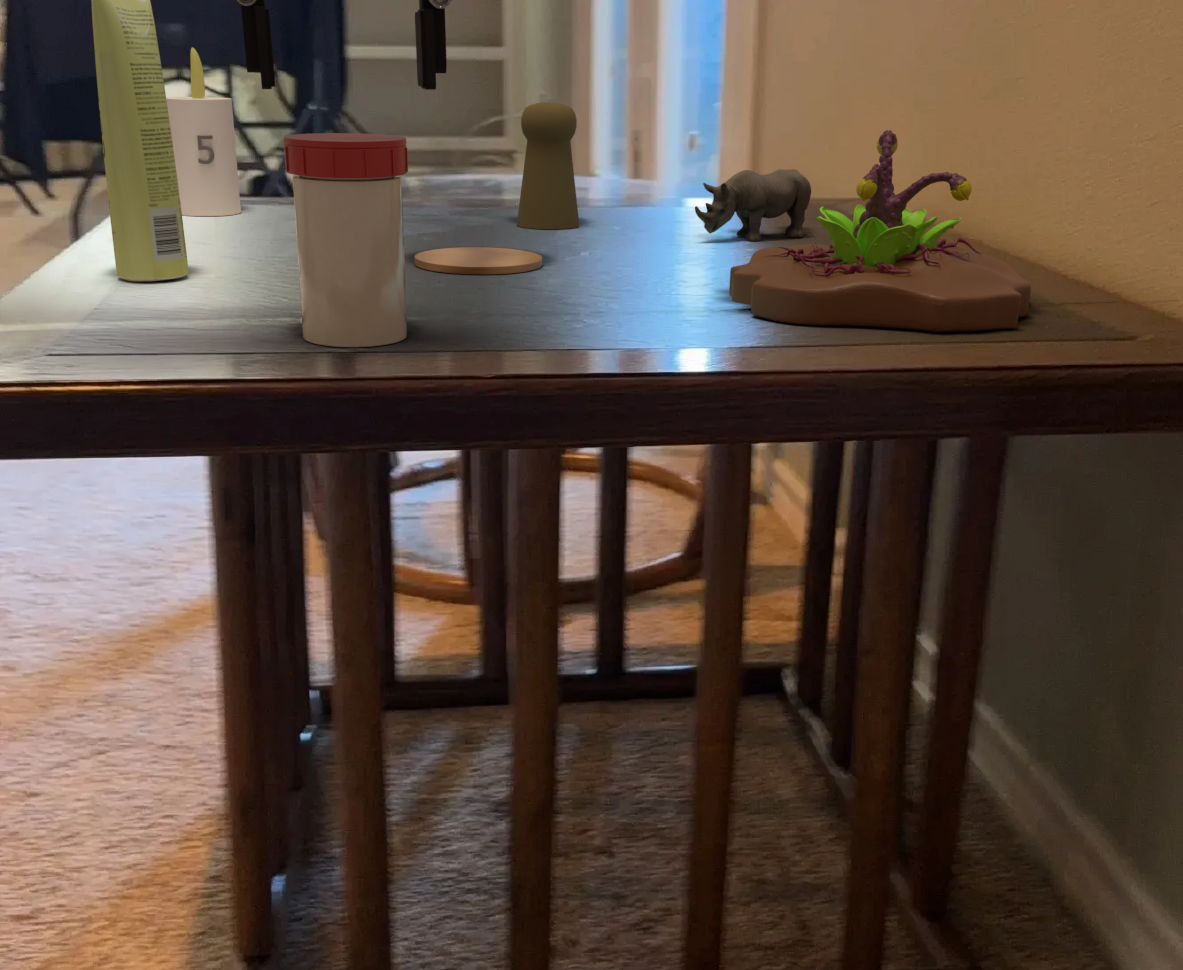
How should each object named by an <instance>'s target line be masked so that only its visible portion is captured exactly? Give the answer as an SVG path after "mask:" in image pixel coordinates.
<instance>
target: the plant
mask: <svg viewBox="0 0 1183 970" xmlns="http://www.w3.org/2000/svg"><path fill="white" fill-rule="evenodd" d="M898 143H899V141H898V137H897V134H895V133H894V132H893V130H891V129H889V130H888V129H887V130H884V131H883V132H882V134H880V135H879V137H878V140H877V142H876V150H877V153H878V154H879V155H880V156H879V158H878V163H879V164H878V163H874V165H872V167H871V169H870V170H869V172H867V173H866V175H864V176H863V177H862V178H861V179H860V180H859V181H858V183H857V185H856V195H857V196H858V197H859V198H860V199H861V200H862V201H863V202H865V201H866V200H867V201H866V203H865V206H864V205H863V204H857V205H856V206H855V208H853V209H854V210H853V219H852V220H851V219H850V218H849V217H847V216H846V215H845V214H843V213H841V212H839V211H837V210H834V209H830V208H827V207H825V206H823V205H822V206H821V207H819V212H820V213H821V214H822V215H823V216H821V215H818V216H817V217H816V220H817V221H818V222H819V223H820V224H821V225H822V226H821V227H822V228H824V230H826V231H827V233H828V234H829V239H830V240H831V242H832V243H830V244H829V246H827V245H823V244H816V242H814V244H808V243H807V244H797V245H789V246H768V247H764V248H760V249H757V250H756V251H755V252H753V253H752V256H751V257H750V260H749V262H747V263H744V264H740V265H735V266H732V267H730V269H729V270H730V273H729V287H728V289H729V291H728V293H729V294H728V295H729V296H730V297H731V302H734V303H738V304H743V305H748V306H750V307H747V308H746V307H745V308H743V309H744V310H750V313H751V314H752V315H753V316H755V317H757V318H761V319H765V320H770V321H775V322H778V323H779V322H780V323H786V324H793V325H803V326H804V325H805V326H835V327H837V326H853V327H870V328H884V329H885V328H887V329H899V330H901V329H902V330H913V331H924V332H930V333H951V332H956V333H957V332H958V333H959V332H961V333H962V332H967V333H968V332H983V331H994V330H1012V329H1016V328H1018V322H1019V318H1023V317H1026V316H1027V315H1028V312H1029V308H1030V300H1031V294H1032V286H1031V285H1032V284H1031V283H1030V282H1029V281H1028V280H1026V279H1024V278H1022V277H1021V276H1019V275H1018V274H1017V273H1016V272H1015V270H1014V269H1013V268H1011V266H1010V265H1009V264H1007V263H1006V262H1005V261H1002V260H1000V259H998V258H996V257H994V256H991V255H988V254H985V253H984V252H979V251H978V250H976V249H975V248H974V247H973V245H972V244H971V243H970V242H969V241H968V240H966V239H965V238H961V237H955V239H954V241H953V242H947V239H946V238H941V237H942V236H943V235H944V233H946V232H947V231H949V230H951V229H952V230H953V229H954V228H955V226H956V225H957V224H959V223H960V222H961V221H962V217H960V216H959V217H957V218H952V219H948V220H943V221H942V222H940V223H937V224H936V225H934V226H933V227H931V228H930V229H929V230H928V231H926V230H927V229H928V228H929V227H930V226H932V225H933V224H935V223H936V222H937V219H938V217H937V216H933V217H931V218H930V219H928V220H926V221H925V219H926V217H927V215H928V211H927V209H926V208H920V209H919V210H916V211H914V212H912V211H911V210H910V209H909V208H908V207H907V204H908V203H909V202H910V201H911V200H912V199H913V198H914V197H915V196H917V195H918V193H920V192H921V191H922V190H924V189H925V188H926V187H928V186H931V185H932V184H935V183H941V182H946V183H948V184H949V190H950V194H951V196H952V198H953V199H954V200H955V201H960V202H963V201H969V200H970V199H969V197H970V196H971V194H972V184H971V183H970V181H969V180H968V178H966V177H965V176H963V175H960V174H958V173H957V172H953V173H952V172H949V171H945V172H936V173H935V172H932V173H929V174H928V175H924V176H921V177H920V178H919V179H917V180H915V182H912V183H911V185H909V186H908V187H907V188H905V189H904V190H902V191H900V192H899V193H897V194H895V193H896V192H895V185H894V184H893V175H894V173H893V172H894V170H893V156H894V155H893V154H895V153H896V152H897V149H898V148H899V147H898V145H899V144H898ZM940 238H941V239H940ZM958 243H961V244H964V245H966V246H967V247H969V248H970V249H971V250H972V251H970V250H968V249H966V248H964V247H962V246H958Z"/></svg>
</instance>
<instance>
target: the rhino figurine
mask: <svg viewBox="0 0 1183 970" xmlns="http://www.w3.org/2000/svg"><path fill="white" fill-rule="evenodd" d="M702 185H703V187H704V189H705V190H706V191H707V192H709V193H710V194H711V195H713V199H712V203H709V202H706V203H705V208H706V212H705V211H701V209H700V208H699V207H698V206H697V205H696V206H694V212H695V214H696V216H697V217H698V218H699V219H700V221H702V222H703V227H704V229H705V230H706V232H707V233H708V234H712V233H715V232H717V231H718V230H719V229H721V228H722V227H723V226H725V225H726V224H727V223H728V222H730V221H731V220H732V219H733V217H734V216H735V213H736V216H737V218H739V220H740V221H741V224H742V227H741V228H740V229H739V230H737V232H736V234H735V235H736V236H737V237H741V238H745V240H748V241H749V242H758V241H761V240H762V235H761V232H760V231H761V230H760V229H761V226H762V220H763V218H764V219H775V218H779V217H780V216H782V215H784V214H785V213H786V214H787V215H788V217H789V219H790V224H789V225H787V227H786V228H785V229H784V232H785V234H787V236H788V237H790V238H802V237H803V236H804V231H803V226H804V223H805V218H806V217H805V213H806V210H807V209H808V207H809V204H810V201H811V198H812V197H811V196H812V186H811V183H810V181H809V180H808V179H807V177H806V176H804V174H802V173H801V172H800V171H799V170H798V169H796V168H795V169H794V168H793V169H783V168H781V169H779V168H778V169H777V170H774V171H772V172H770V173H767V174H766V173H765V174H760V173H758V172H756V171H754V170H752V169H744V170H741V171H739V172H737V173H735V174H734V175H732V176H731V177H729V178H728V179H727V180H726V181H725V182H723V183H721V184H720V185H719V186H714V185H710V184H707V183H706V182H703V184H702Z"/></svg>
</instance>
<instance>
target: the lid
mask: <svg viewBox="0 0 1183 970" xmlns="http://www.w3.org/2000/svg"><path fill="white" fill-rule="evenodd" d="M283 148H284V161H285V163H284V164H285V173H287V174H289V175H292V176H293V175H299V176H309V177H326V178H376V177H391V176H399V175H400V176H404V175H406V174H408V173H409V161H408V160H409V159H408V158H409V157H408V147H407V138H406V137H404V136H401V135H392V134H379V133H378V134H377V133H356V132H355V133H353V132H350V133H349V132H323V133H322V132H321V133H320V132H318V133H317V132H316V133H315V132H314V133H297V134H296V133H295V134H288V135H284V136H283Z"/></svg>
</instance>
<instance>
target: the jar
mask: <svg viewBox="0 0 1183 970" xmlns="http://www.w3.org/2000/svg"><path fill="white" fill-rule="evenodd" d="M402 179H403V178H402V175H399V176H391V177H376V178H326V177H309V176H299V175H293V174H292V189H293V203H294V204H293V205H294V220H295V221H294V222H295V234H296V235H295V236H296V250H297V263H298V265H297V266H298V279H299V295H300V309H301V311H300V312H301V326H302V338H303V339H304V340H305V341H306V342H309V343H311V344H314V345H319V346H325V347H336V348H368V347H370V348H371V347H380V346H386V345H391V344H396V343H399V342H402V341H403V340H405V339H406V338H407V337H408V331H407V330H408V328H407V327H408V326H407V299H406V297H407V295H406V271H405V269H406V267H405V266H406V265H405V243H404V242H405V241H404V240H405V239H404V237H405V236H404V218H403V217H404V212H403V211H404V210H403V208H404V207H403V182H402V181H403V180H402Z"/></svg>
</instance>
